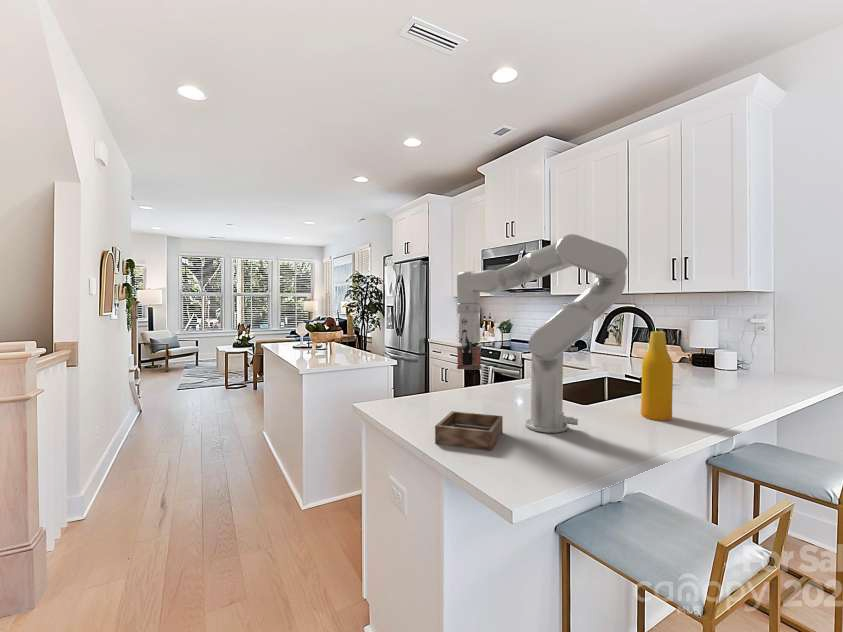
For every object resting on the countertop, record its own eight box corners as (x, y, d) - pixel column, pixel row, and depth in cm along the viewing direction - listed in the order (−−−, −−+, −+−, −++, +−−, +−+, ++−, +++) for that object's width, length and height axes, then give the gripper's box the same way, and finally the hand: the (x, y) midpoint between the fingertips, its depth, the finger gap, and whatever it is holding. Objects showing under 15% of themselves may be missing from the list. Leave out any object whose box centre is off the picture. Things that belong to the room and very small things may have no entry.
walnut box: (502, 432, 126) (502, 416, 126) (491, 450, 111) (491, 432, 111) (451, 426, 132) (451, 411, 131) (435, 443, 117) (435, 425, 116)
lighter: (481, 368, 140) (481, 338, 139) (481, 369, 136) (480, 339, 136) (457, 367, 141) (457, 338, 141) (456, 369, 138) (456, 339, 137)
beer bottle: (678, 421, 136) (680, 333, 135) (649, 421, 136) (650, 333, 135) (662, 413, 145) (664, 330, 144) (635, 413, 146) (637, 330, 144)
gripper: (472, 309, 129) (473, 368, 130) (486, 308, 144) (486, 360, 145) (449, 309, 132) (450, 367, 132) (465, 308, 147) (465, 360, 148)
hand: (469, 363), depth 139 cm, fingers closed on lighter, 3 cm apart
